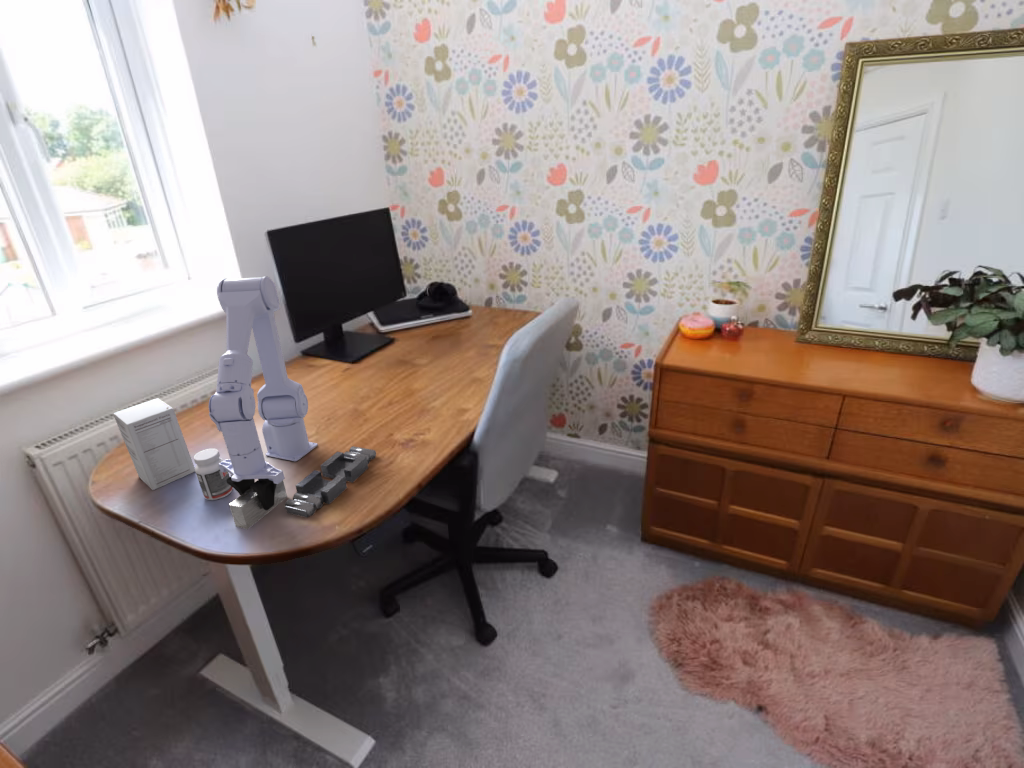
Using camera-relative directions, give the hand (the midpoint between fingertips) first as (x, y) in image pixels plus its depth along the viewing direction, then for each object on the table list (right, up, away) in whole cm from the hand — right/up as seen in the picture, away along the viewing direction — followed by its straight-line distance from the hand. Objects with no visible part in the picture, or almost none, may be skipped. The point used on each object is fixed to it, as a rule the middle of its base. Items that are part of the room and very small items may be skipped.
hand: (260, 505), depth 107 cm
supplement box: (-29, +4, +15) cm, 32 cm away
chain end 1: (+10, 0, +4) cm, 10 cm away
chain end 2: (+14, +6, +15) cm, 21 cm away
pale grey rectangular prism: (0, -1, +1) cm, 2 cm away
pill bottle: (-12, +1, +7) cm, 14 cm away
